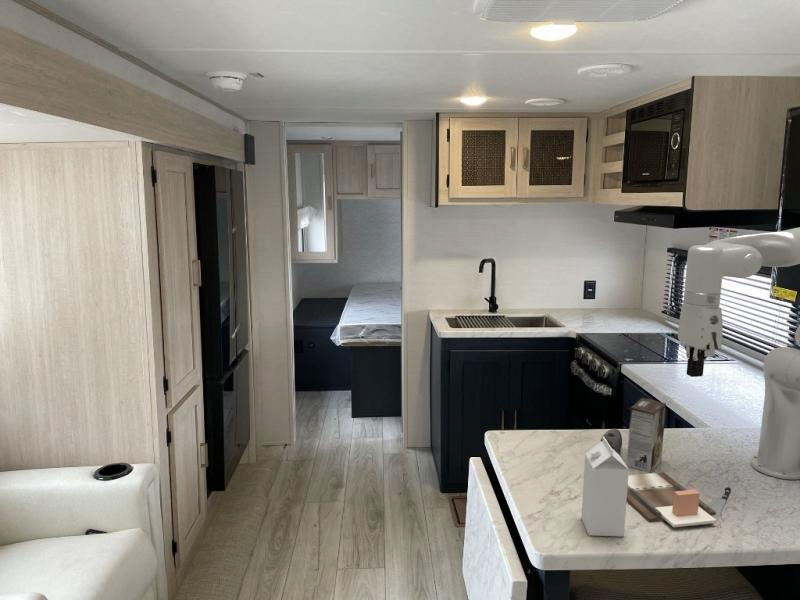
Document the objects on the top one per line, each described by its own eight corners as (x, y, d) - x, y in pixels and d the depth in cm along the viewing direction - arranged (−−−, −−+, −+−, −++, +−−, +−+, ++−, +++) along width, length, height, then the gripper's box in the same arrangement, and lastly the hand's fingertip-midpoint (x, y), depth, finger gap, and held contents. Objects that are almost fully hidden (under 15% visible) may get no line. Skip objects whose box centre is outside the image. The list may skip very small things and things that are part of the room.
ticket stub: (694, 505, 136) (697, 482, 135) (716, 522, 129) (718, 498, 128) (654, 510, 134) (656, 486, 133) (673, 527, 127) (675, 502, 126)
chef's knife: (699, 522, 132) (715, 526, 130) (699, 517, 132) (715, 521, 130) (717, 488, 147) (731, 490, 145) (717, 483, 147) (731, 486, 145)
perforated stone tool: (606, 443, 171) (608, 420, 170) (626, 447, 169) (628, 423, 167) (595, 464, 158) (596, 439, 157) (616, 468, 156) (617, 443, 154)
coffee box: (637, 454, 164) (641, 397, 161) (662, 461, 160) (667, 402, 157) (625, 466, 157) (629, 406, 154) (651, 473, 153) (656, 412, 150)
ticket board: (663, 475, 152) (664, 467, 152) (715, 515, 134) (716, 506, 133) (604, 480, 149) (605, 473, 149) (649, 522, 131) (649, 513, 130)
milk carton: (614, 519, 132) (620, 436, 129) (624, 537, 125) (630, 450, 122) (581, 517, 133) (586, 435, 129) (588, 536, 126) (594, 450, 122)
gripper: (739, 304, 134) (730, 384, 137) (695, 293, 148) (688, 365, 152) (708, 305, 132) (701, 386, 136) (667, 294, 147) (661, 367, 150)
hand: (694, 375), depth 144 cm, fingers closed
